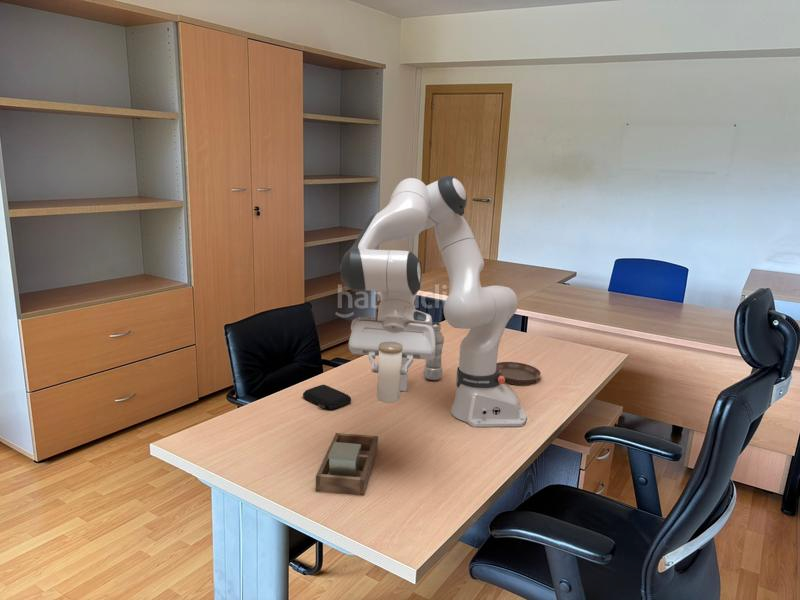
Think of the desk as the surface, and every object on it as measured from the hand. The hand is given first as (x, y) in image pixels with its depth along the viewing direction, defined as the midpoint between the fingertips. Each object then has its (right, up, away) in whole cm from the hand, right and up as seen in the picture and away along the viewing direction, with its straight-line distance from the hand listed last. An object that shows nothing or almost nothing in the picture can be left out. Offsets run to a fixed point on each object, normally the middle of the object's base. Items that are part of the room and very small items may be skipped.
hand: (389, 372), depth 129 cm
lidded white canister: (0, -6, +2) cm, 6 cm away
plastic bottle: (+14, -11, +70) cm, 73 cm away
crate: (-10, -25, +9) cm, 29 cm away
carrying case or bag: (-21, -16, +50) cm, 56 cm away
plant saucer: (+43, -12, +74) cm, 87 cm away
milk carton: (+1, -13, +62) cm, 63 cm away
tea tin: (-10, -26, +4) cm, 28 cm away
